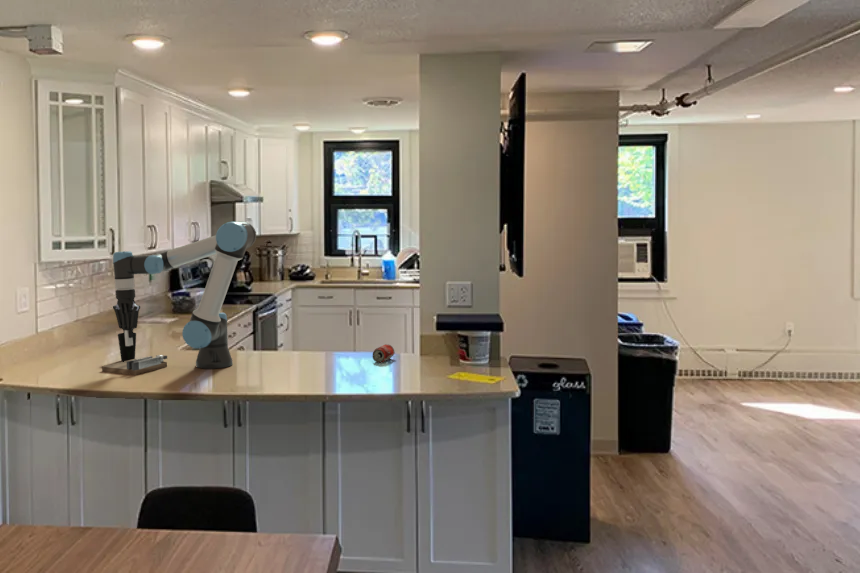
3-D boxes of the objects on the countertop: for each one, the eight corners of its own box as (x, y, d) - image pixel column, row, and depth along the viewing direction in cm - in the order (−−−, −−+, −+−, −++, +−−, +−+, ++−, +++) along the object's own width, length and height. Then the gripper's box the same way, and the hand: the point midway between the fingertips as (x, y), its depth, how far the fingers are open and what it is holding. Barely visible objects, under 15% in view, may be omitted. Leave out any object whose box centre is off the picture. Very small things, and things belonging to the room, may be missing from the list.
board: (167, 366, 323) (166, 362, 322) (135, 375, 306) (134, 370, 306) (135, 363, 330) (134, 358, 330) (102, 371, 313) (101, 366, 313)
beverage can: (370, 363, 329) (370, 348, 328) (380, 358, 341) (379, 343, 340) (386, 364, 327) (385, 349, 326) (395, 359, 339) (394, 344, 338)
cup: (130, 362, 332) (129, 335, 331) (115, 361, 334) (114, 334, 332) (140, 359, 340) (139, 332, 338) (125, 358, 341) (124, 332, 340)
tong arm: (152, 363, 319) (152, 356, 319) (129, 369, 307) (129, 361, 307) (150, 362, 320) (150, 355, 319) (126, 368, 308) (126, 361, 307)
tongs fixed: (169, 361, 324) (169, 354, 323) (134, 370, 305) (134, 363, 305) (162, 360, 325) (162, 353, 325) (127, 369, 307) (127, 362, 307)
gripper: (144, 288, 311) (148, 344, 314) (120, 287, 317) (124, 343, 319) (130, 290, 305) (134, 347, 307) (106, 289, 310) (110, 346, 312)
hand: (129, 345), depth 313 cm, fingers closed
